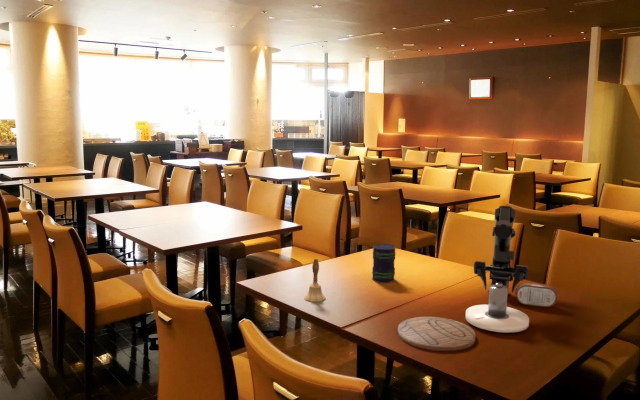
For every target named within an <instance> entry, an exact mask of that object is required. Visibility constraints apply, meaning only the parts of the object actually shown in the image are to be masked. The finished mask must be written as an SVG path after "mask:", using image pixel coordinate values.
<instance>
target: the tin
mask: <svg viewBox="0 0 640 400" xmlns="http://www.w3.org/2000/svg"><path fill="white" fill-rule="evenodd" d="M514 291H515V298H516V299H517V301H518V302H519V303H520V304H522V305H526V306H533V307H542V308H551V307H553V306H554V305H555V304H556V303H557V301H558V292H557V290H556V289H555V288H554V287H553V286H552V285H549V284H541V283H533V282H522V283H519V284H518V285H517V286H516V288H515V290H514Z"/></svg>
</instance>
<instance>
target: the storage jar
mask: <svg viewBox="0 0 640 400" xmlns="http://www.w3.org/2000/svg"><path fill="white" fill-rule="evenodd" d="M372 246H373V247H372V259H373V263H372V264H373V265H372V269H371V270H372V271H371V274H372V281H373V282H375V283H376V282H377V283H380V284H381V283H382V284H384V283H386V284H389V283H392V282H394V281H395V273H396V272H395V271H396V267H395V261H396V246H395V245H393V244H388V243H377V244H374V245H372Z"/></svg>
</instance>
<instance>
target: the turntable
mask: <svg viewBox="0 0 640 400" xmlns="http://www.w3.org/2000/svg"><path fill="white" fill-rule="evenodd" d="M488 306H489V304H476V305H472V306H470V307H468V308H466V310H465V320H466V321H467V322H468V324H470V325H472V326H474V327H477V328H479V329H482V330H485V331H490V332H496V333H519V332H523V331H526V330H527V329H528V328H529V326H530V318H529V316H528V315H527V314H526V313H525V312H523V311H521V310H518V309H516V308H512V307H509V306H507V310H506V317H504V318H496V317H492V316H490V315H488Z"/></svg>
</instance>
